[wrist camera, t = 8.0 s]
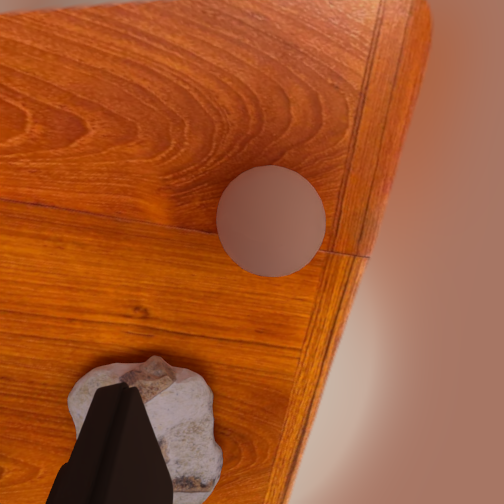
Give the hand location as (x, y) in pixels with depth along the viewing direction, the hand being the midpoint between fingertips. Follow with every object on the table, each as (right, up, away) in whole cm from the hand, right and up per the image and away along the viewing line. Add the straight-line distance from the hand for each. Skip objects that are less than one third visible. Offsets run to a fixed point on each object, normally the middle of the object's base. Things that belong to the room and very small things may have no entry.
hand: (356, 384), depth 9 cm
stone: (-9, -9, +19) cm, 22 cm away
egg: (-2, +6, +14) cm, 15 cm away
